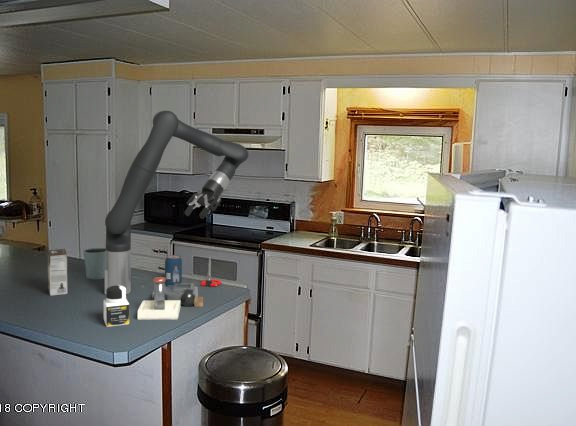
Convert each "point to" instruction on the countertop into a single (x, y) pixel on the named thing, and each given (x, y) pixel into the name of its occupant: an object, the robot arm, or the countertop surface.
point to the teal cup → (95, 262)
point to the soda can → (173, 270)
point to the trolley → (181, 293)
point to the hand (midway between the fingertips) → (193, 216)
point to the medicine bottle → (116, 306)
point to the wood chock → (198, 302)
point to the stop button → (159, 293)
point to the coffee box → (57, 271)
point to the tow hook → (209, 280)
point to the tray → (148, 311)
